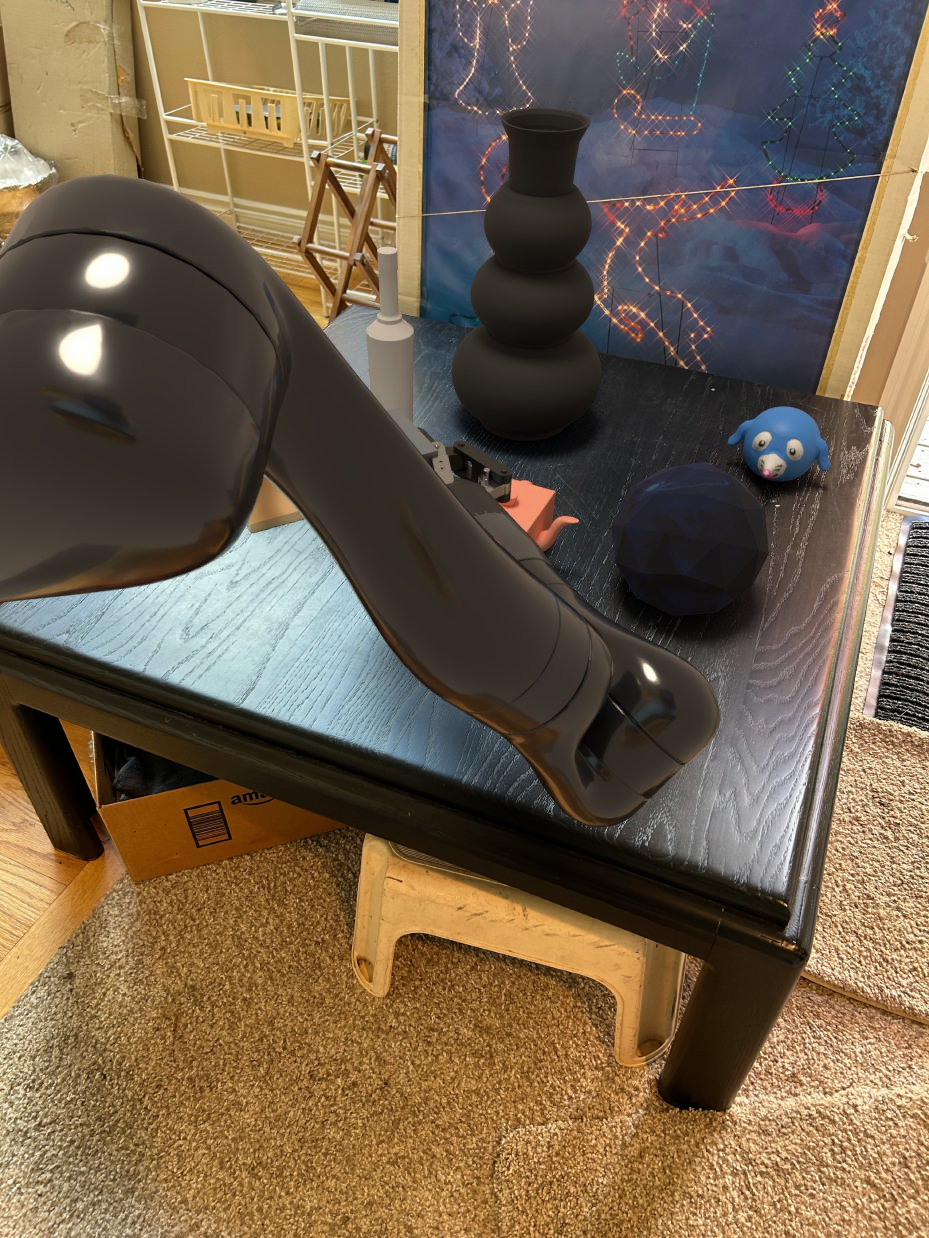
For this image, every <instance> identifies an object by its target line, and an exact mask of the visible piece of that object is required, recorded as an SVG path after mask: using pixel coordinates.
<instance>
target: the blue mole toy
mask: <svg viewBox="0 0 929 1238" xmlns="http://www.w3.org/2000/svg"><path fill="white" fill-rule="evenodd" d="M742 441H744V442H743V447H742V449H743V457H744V460H745V462H746V464H747V466H748V468H749V469H750V470H751V471H752V472H753V473H755V474H756V475H757V476H758V477H761V478H763V479H764V480H768V481H770V482H771V481H772V482H789V481H792V480H795V479H798V478H800V477H801V476H803V475H804V474H806V472H808V471H809V470H810V469H811V468H812V467H813V465H814V464H815V462H817V466H818V468H819V469H820V470H821V471H822V472H828V471H829V470H830V469H831V466H832V464H831V461H830V458H829V447H828V444H827V442H826V440H824V439H823V438H822V437H821V432H820V429H819V427H818V424H817V422H816V421H815V419H814V418H813V417H812V416H811V415H810V414H808V413H807V412H806V411H804V410H802V409H799V408H796V407H792V406H775V407H771V408H768V409H766V410H764V411H762V412H761V413H760V414H758V415H757V416H756V417H755V418H753V419H750V420H745V421H744V422H742V423H741V424H740V425H738V428H737V429H736V431H735V432H734V433H733V434H732V435H730V436H729V437H728V441H727V445H729V446H730V447H735V446H737V445H739V444H740V443H741V442H742Z"/></svg>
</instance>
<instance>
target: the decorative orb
mask: <svg viewBox="0 0 929 1238" xmlns="http://www.w3.org/2000/svg"><path fill="white" fill-rule="evenodd" d="M610 527H611V536H612V544H613V545H612V546H613V555H614V562H615V564H616V567H617V568H618V570H619V571H620V573H621V575H622V576H623V578H624V580H625V582H626V583H627V585H628V587H629V588H630V590H631V592H632V593H633V595H634V596H635V598H636V599H637V600H640V601H642V602H644V603H646V604H648V605H650V606H652V607H653V608H656V609H658V610H660V611H662V612H663V613H666V614H667V615H669V616H672V617H679V616H680V617H681V616H695V615H706V614H707V615H708V614H716V613H718V612H719V611H721V610H722V609H723V608H725V607H727V605H729V604H730V603H732V602H734V601H735V600H736V599H738V598H739V597H740V596H741V595H743V594H744V593H745V592H747V591H749V590H750V589H751V588H752V587H753V586H754V584H755V582H756V580H757V578H758V576H759V574H760V572H761V570H762V568H763V566H764V565H765V562H766V561H767V559H768V556H769V555H770V551H769V540H768V528H767V516H766V508H765V507H764V505H763V504H762V503H761V502H760V500H758V499H757V497H756V496H755V495H754V494H753V492H751V490H750V489H749V488H748V487H747V486H746V484H744V482H743V481H742V480H740V479H738V478H737V477H735V476H733V475H732V474H731V473H728V472H726V471H724V470H723V469H721V468H719V467H716V466H715V465H712V464H711V463H709V462H706V461H701V462H695V463H688V464H682V465H674V466H668V467H663V468H661V469H659V470H658V471H656V472H654V473H653V474H651V475H649V476H648V477H647V478H645V479H643V480H642V481H640V482H638V483H636V484H635V485H633V486H632V489H631V490H630V492H629V494H628V495H627V497H626V499H625V500H624V503H623V504H622V506H621V508H619V511H618V513H617V515H616V516H615V518H614V520H613V522H612V524H611V526H610Z"/></svg>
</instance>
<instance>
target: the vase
mask: <svg viewBox="0 0 929 1238" xmlns="http://www.w3.org/2000/svg"><path fill="white" fill-rule="evenodd" d="M499 120H500V123H501V125H502V127H503V129H504V131H505V133H506V136H507V142H508V180H506V181H505V182H503V184H501V186H500V187H499V188H498V189H497V191H496V192H495V193H494V195H493V196H492V197H491V199H490V200H489V202H488V204H487V206H486V208H485V211H484V216H483V229H484V230H483V231H484V235H485V238H486V240H487V243H488V245H489V246H490V248H491V250H492V252H494V254H493V255H491V256H490V257H489V258H487V260H486V261H484V262H483V263H482V264H481V266H480V267H479V268H478V270H476V273H475V275H474V277H473V278H472V281H471V286H470V294H469V295H470V303H471V307H472V309H473V311H474V314H475V315H476V317H477V319H478V320H479V322H480V324H479V325H477V326H475V327H474V328H472V330H470V332H468V333H467V334H466V335H465V336H464V337H463V339H462V340H461V342H460V343H459V344H458V347H457V348H456V350H455V353H454V356H453V359H452V364H451V378H452V379H451V380H452V381H451V382H452V386H453V389H454V392H455V394H456V396H457V398H458V400H459V402H460V404H461V405H462V406H463V408H464V409H465V410H466V411H467V412H469V414H471V416H473V417H474V418H475V419H477V420H478V421H479V422H480V424H481V425H482V427H483V428H484V429H486V431H488V432H489V433H491V434H492V435H494V436H497V437H499V438H503V439H506V440H510V441H515V442H537V441H544V440H547V439H551V438H553V437H556V436H557V435H558V434H560V433H562V432H563V430H565V428H566V426H568V425H570V424H573V423H575V422H576V421H577V420H579V419H580V418H581V417H582V416H583V415H584V414H585V413H587V411H589V409H590V408H591V406H592V405H593V403H594V402H595V400H596V398H597V397H598V395H599V392H600V388H601V384H602V375H603V374H602V372H603V371H602V364H601V363H602V362H601V359H600V356H599V353H598V351H597V349H596V348H595V346H594V344H593V343H592V341H591V340H590V339H589V337H588V336H587V335H586V334H585V333H584V332H582V331H581V330H580V328H581V327H582V326H583V325H584V323H585V322H586V321H587V320H588V318H589V317H590V316H591V313H592V310H593V309H594V304H595V298H596V297H595V295H596V293H595V286H594V282H593V280H592V277H591V275H590V273H589V272H588V269H586V267H584V265H583V264H582V263H581V262H580V261H579V260H578V259H577V257H578V256H579V255H580V253H581V252H582V251H583V250H584V248H585V247H586V245H587V243H588V241H589V239H590V237H591V233H592V230H593V229H592V228H593V227H592V226H593V220H592V219H593V217H592V212H591V208H590V206H589V203H588V202H587V200H586V198H585V196H584V195H583V194H582V192H581V190H580V188H579V187H578V186H577V185H576V184H574V182H575V181H574V180H575V174H576V165H577V160H578V158H577V157H578V154H579V149H580V143H581V140H582V139H583V137H584V136H585V134H586V132H587V130H588V128H589V127H590V126H591V124H592V123H591V122H592V121H591V119H590V118H589V117H588V116H586V115H584V114H581V113H579V112H575V111H572V110H567V109H561V108H552V107H551V108H550V107H526V108H525V107H524V108H518V109H513V110H508V111H506V112H504V113H502V114H501V115H500V119H499Z"/></svg>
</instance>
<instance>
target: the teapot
mask: <svg viewBox="0 0 929 1238" xmlns="http://www.w3.org/2000/svg"><path fill="white" fill-rule="evenodd" d="M556 495H557V492H556V490H553V489H549V488H545V487H542V486H538V485H534V484H533V483H532V482H531V481H529V480H527V479H522V480H518V479H514V478H512V484H511V497H510V501H509V502H507V503H499V504H500V505H501V506H502V507H503V508H504V509H505V510H506V511H507V512H508V513H509V514H510V515H511V517H512V518H513V519H514V520H515V521H516V522H517V523H518V524H519V525H520V526H521V527H522V528H523V529H524V530H525V531H526V532H527V533H528V534H529V535H530V537H531V538H532V539H533V540H534V541H535V542H536V543H537V544H538V545H539V547H540V548H541V549H542V551H543V552H544V553H545V552H546V551H548V549H550V548H551V547H552V546H553V545H554V543H555V542H556V540H557V538H558V536H559V534H560V533H561V531H562V530H563V528H564V527H566V526H568V525H572V524H577V523H579V522H580V520H579V519H578V518H576V517H573V516H569V515H562V516H558V517H557V518H555V519H554V512H555V503H556V502H555V501H556Z"/></svg>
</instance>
